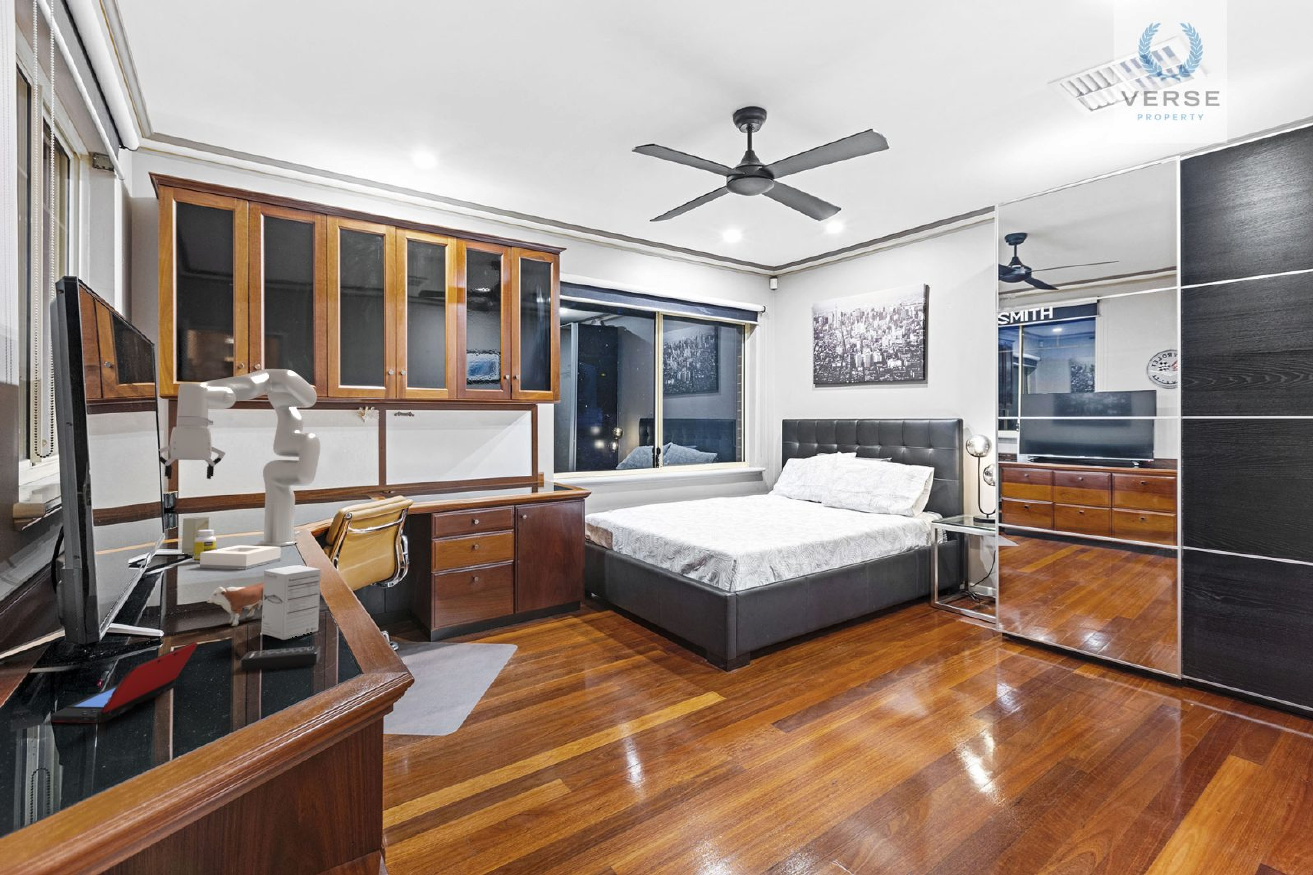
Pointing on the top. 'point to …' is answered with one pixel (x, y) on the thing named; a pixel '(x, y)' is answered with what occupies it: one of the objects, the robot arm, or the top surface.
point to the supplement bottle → (204, 543)
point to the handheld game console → (129, 689)
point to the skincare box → (192, 532)
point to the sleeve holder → (239, 557)
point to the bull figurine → (238, 600)
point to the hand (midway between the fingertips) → (189, 478)
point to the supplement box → (290, 601)
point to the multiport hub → (280, 658)
